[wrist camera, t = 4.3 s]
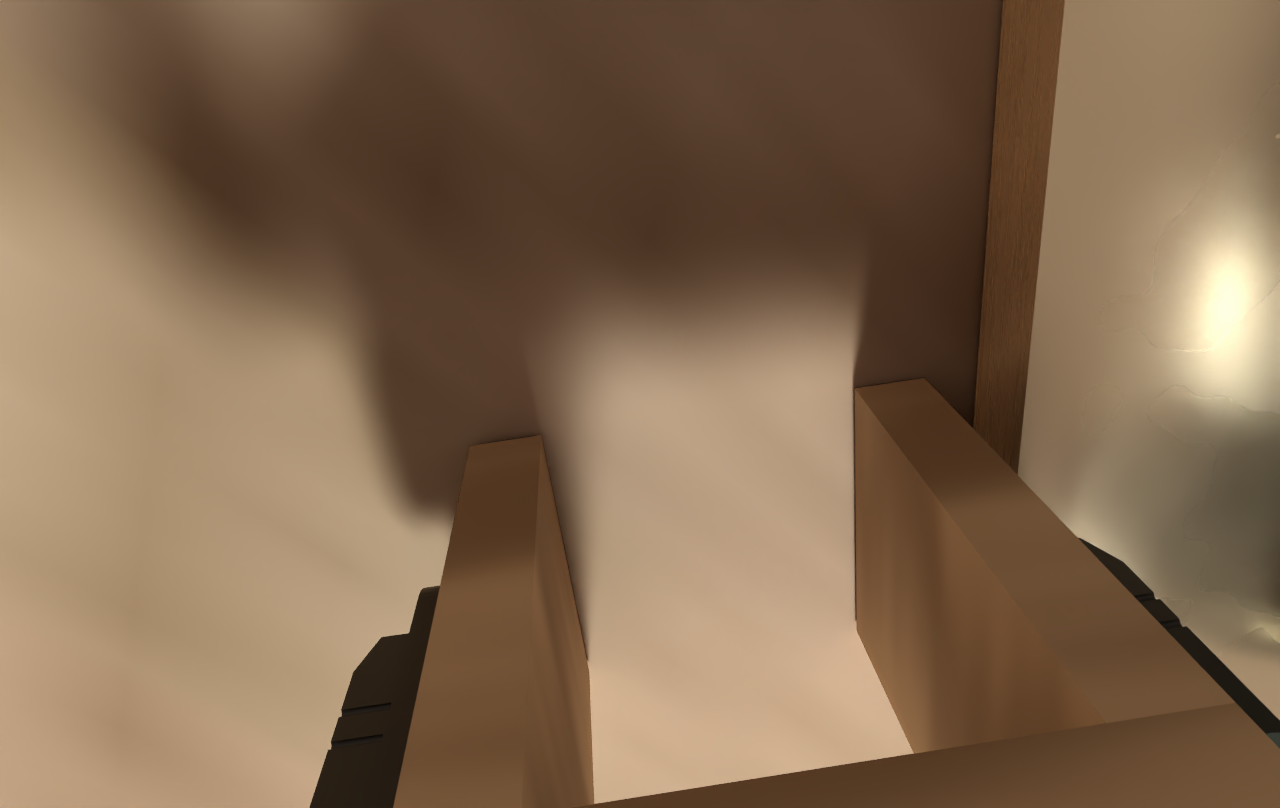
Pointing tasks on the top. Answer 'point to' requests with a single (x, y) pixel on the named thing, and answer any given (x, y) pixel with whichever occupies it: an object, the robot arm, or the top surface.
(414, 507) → the top surface
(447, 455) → the top surface
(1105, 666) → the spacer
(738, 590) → the top surface
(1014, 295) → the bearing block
